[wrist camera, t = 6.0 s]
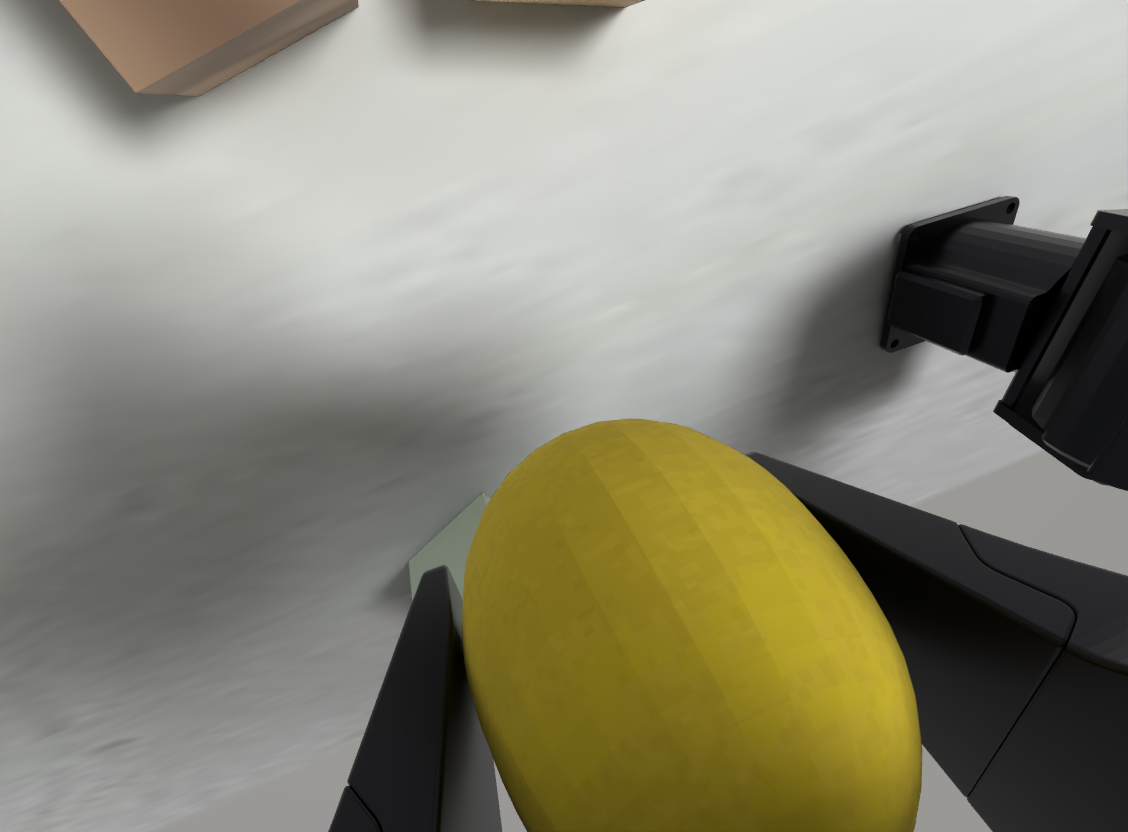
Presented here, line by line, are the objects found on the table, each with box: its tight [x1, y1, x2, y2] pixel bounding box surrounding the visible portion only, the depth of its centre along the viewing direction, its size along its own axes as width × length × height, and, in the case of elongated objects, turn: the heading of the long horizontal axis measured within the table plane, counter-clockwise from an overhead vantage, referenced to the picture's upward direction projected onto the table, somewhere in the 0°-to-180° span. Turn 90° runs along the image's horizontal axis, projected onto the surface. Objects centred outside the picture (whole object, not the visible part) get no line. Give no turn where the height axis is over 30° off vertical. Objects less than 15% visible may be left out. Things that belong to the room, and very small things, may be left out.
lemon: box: [462, 419, 922, 832], centre depth 8 cm, size 6×6×8 cm
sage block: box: [409, 492, 491, 601], centre depth 24 cm, size 5×5×5 cm
